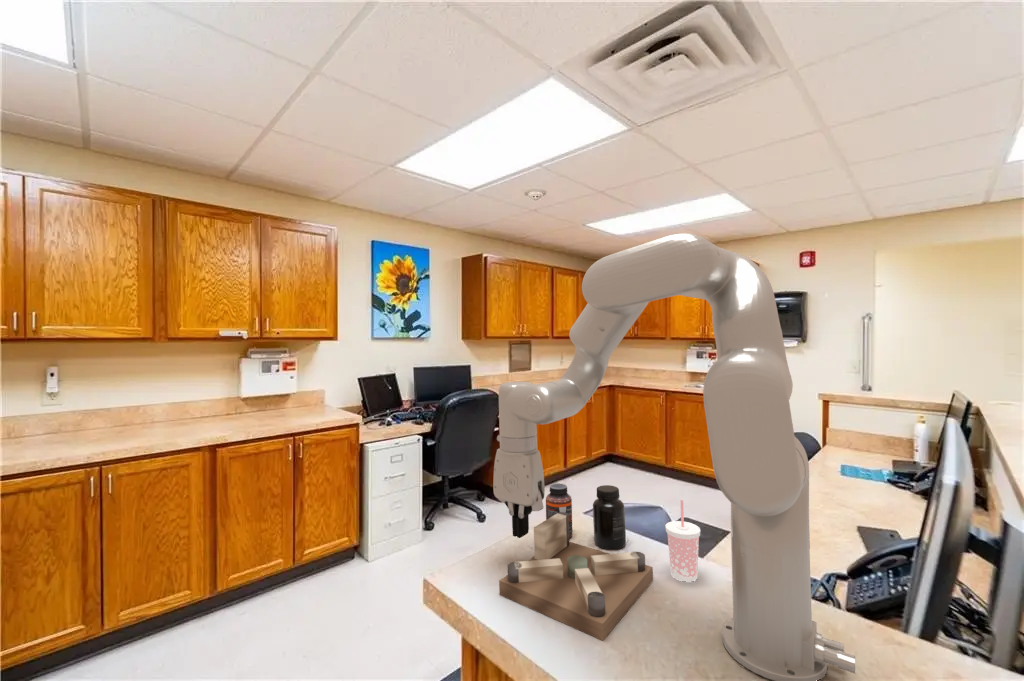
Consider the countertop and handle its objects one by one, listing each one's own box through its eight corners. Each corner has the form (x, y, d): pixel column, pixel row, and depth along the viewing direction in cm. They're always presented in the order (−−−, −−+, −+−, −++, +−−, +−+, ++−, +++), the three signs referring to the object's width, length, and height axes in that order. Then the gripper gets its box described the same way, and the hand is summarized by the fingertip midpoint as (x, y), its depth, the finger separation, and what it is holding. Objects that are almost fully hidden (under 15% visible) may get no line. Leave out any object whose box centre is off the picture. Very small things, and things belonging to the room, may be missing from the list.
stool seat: (653, 580, 80) (652, 553, 80) (603, 640, 64) (602, 607, 64) (560, 550, 92) (559, 527, 92) (499, 594, 77) (498, 566, 77)
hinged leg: (561, 539, 91) (560, 511, 91) (571, 543, 90) (571, 513, 90) (534, 558, 84) (533, 527, 84) (545, 562, 82) (544, 530, 82)
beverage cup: (692, 588, 77) (689, 509, 77) (660, 575, 81) (658, 500, 81) (707, 575, 81) (705, 500, 81) (676, 563, 85) (674, 492, 86)
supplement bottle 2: (623, 536, 98) (621, 483, 98) (628, 551, 91) (626, 493, 91) (592, 536, 99) (591, 483, 99) (595, 550, 92) (593, 493, 92)
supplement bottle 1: (571, 542, 96) (569, 491, 96) (544, 540, 97) (543, 489, 97) (573, 530, 102) (572, 482, 102) (548, 529, 103) (547, 481, 103)
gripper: (478, 442, 89) (480, 532, 89) (538, 452, 80) (540, 552, 80) (501, 435, 95) (503, 519, 95) (559, 444, 86) (562, 537, 86)
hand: (520, 534), depth 87 cm, fingers closed
